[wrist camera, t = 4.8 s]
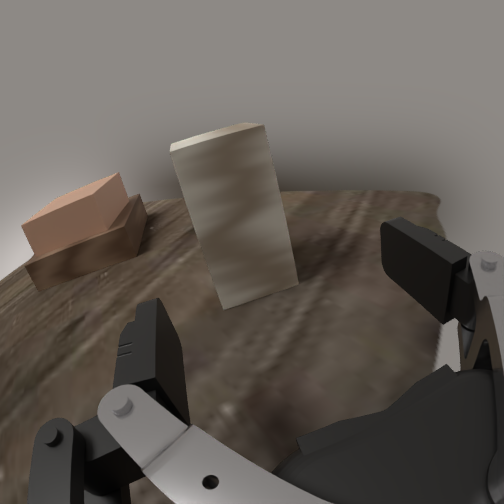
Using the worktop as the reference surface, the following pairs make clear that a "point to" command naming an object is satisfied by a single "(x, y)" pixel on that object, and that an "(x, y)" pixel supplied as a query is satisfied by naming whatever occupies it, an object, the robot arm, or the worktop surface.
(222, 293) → the cream block
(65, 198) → the tower top block
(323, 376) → the worktop surface
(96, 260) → the tower base block
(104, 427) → the robot arm
